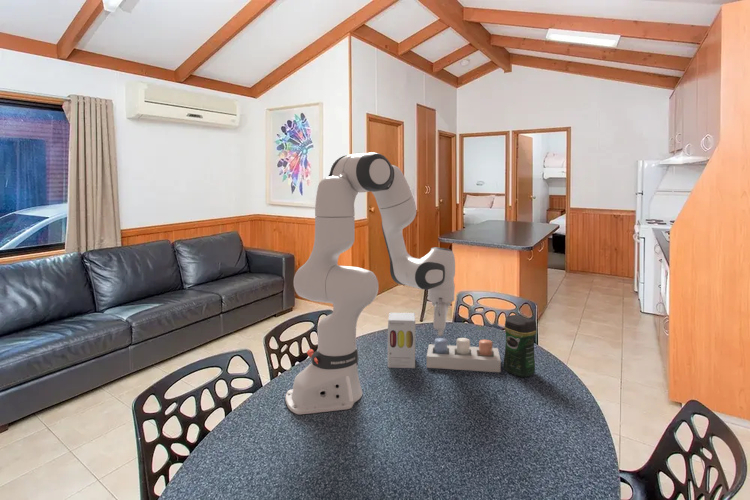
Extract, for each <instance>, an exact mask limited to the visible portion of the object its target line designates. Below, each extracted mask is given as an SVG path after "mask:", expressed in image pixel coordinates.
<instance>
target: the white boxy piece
mask: <svg viewBox="0 0 750 500" xmlns="http://www.w3.org/2000/svg"><path fill="white" fill-rule="evenodd" d="M456 350H457V345H451V344H449V345H448V344H447V353H445V354H438V353H435V351H434V344H432V343H431V344H428V348H427V353H426V368H427V369H443V370H459V371H460V370H461V371H474V372H486V373H487V372H489V373H501V362H502V361H501V357H500V351H499V348H498V347H492V355H489V356H485V355H481V354H479V346H470V352H469V353H467V354H461V353H458V352H457V351H456Z"/></svg>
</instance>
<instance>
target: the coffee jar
mask: <svg viewBox="0 0 750 500" xmlns="http://www.w3.org/2000/svg"><path fill="white" fill-rule="evenodd" d="M537 330H538V329H537V322H536V320H534V319H531V318H527V317H523V316H521V315H517V314H511V315H508V316H506V318H505V320H504V332H505V346H504V347H505V348H504V354H503V355H504V356H503V365H502V366H503V367H502V368H503V369H504V371H506V372H507V373H510V374H512V375H514V376H517V377H521V378H523V377H531V376H533V375H534V374H535V372H536V361H535V359H536V358H535V337H536V333H537Z"/></svg>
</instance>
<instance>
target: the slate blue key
mask: <svg viewBox="0 0 750 500" xmlns="http://www.w3.org/2000/svg"><path fill="white" fill-rule="evenodd" d="M433 345H434V351H435V353H438V354H445V353H447V345H448V339H447V338H444V337H436V338H435V339H434V344H433Z"/></svg>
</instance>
